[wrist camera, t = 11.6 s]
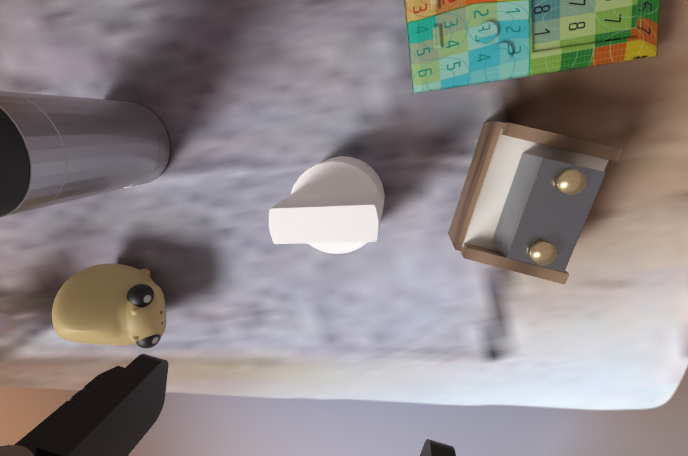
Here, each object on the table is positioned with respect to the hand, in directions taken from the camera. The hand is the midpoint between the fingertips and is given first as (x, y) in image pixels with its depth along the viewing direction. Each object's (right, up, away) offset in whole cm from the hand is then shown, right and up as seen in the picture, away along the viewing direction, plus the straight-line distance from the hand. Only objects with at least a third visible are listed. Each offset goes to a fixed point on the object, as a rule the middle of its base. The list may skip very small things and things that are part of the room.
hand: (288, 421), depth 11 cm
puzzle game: (+18, +26, +24) cm, 40 cm away
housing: (+18, +8, +22) cm, 30 cm away
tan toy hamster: (-24, -2, +38) cm, 45 cm away
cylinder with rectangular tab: (+2, +9, +31) cm, 32 cm away
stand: (+19, +9, +28) cm, 35 cm away
